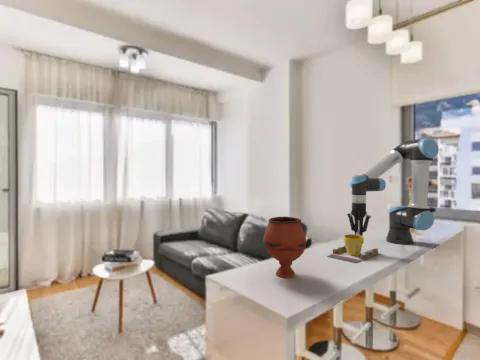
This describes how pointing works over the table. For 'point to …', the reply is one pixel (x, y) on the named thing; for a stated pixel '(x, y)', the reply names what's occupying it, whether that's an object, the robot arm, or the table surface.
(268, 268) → the table surface
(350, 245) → the plant pot
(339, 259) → the mat
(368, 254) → the pair of brown bars
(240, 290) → the table surface
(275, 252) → the goblet
